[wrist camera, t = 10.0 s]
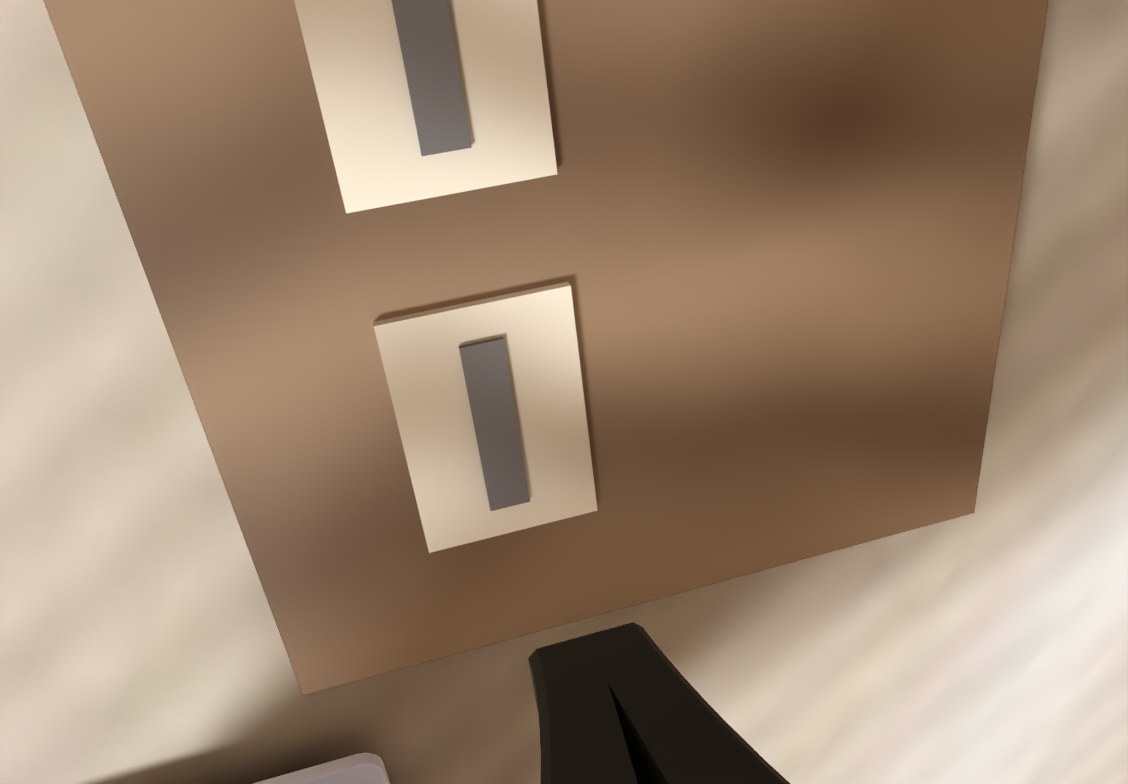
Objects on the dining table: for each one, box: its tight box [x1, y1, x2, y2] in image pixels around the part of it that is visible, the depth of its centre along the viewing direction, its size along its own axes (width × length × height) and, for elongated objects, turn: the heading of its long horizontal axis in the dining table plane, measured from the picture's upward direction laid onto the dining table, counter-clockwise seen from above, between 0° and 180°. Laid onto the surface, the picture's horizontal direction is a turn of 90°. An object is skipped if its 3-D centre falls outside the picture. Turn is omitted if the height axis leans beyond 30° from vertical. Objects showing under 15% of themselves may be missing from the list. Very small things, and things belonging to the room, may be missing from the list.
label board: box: [43, 0, 1048, 695], centre depth 15 cm, size 20×16×2 cm
